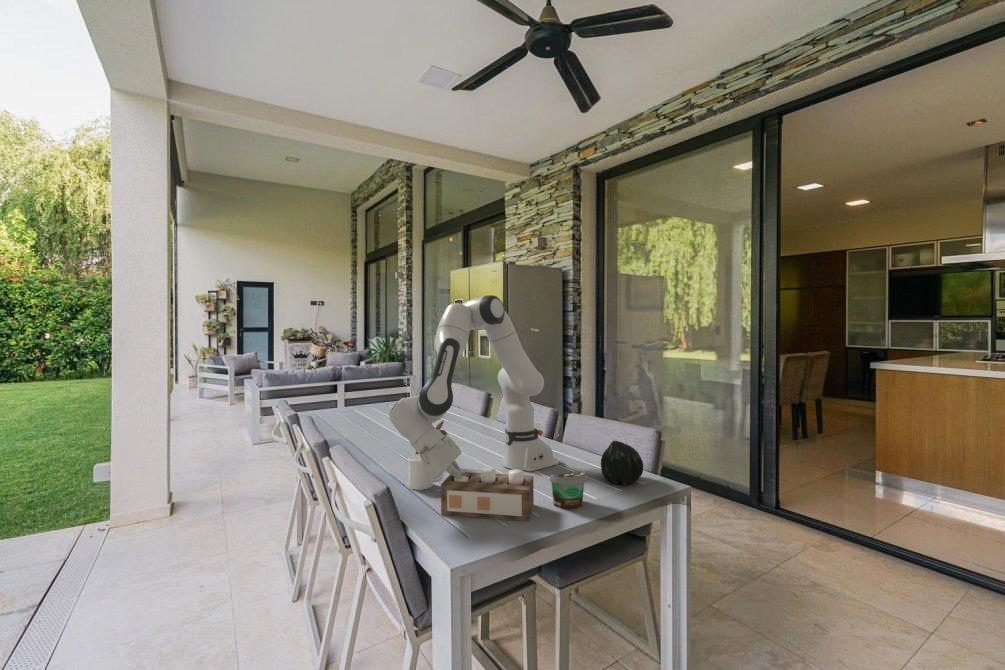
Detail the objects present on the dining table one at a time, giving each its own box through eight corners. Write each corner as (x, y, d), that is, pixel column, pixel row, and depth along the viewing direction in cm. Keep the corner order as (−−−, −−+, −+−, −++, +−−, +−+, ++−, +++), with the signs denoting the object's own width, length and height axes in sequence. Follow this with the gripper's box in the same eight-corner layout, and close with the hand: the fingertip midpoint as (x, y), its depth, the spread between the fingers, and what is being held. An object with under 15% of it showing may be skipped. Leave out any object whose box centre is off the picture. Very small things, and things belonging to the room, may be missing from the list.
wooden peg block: (441, 514, 136) (440, 484, 135) (452, 498, 148) (452, 471, 147) (528, 521, 131) (528, 490, 131) (533, 504, 143) (533, 475, 143)
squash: (658, 468, 159) (634, 431, 166) (631, 479, 150) (606, 439, 157) (633, 486, 168) (611, 450, 176) (606, 497, 159) (584, 459, 166)
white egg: (452, 496, 139) (452, 480, 139) (456, 491, 143) (456, 475, 143) (466, 497, 138) (466, 481, 138) (470, 491, 142) (469, 476, 142)
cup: (413, 481, 164) (412, 453, 163) (446, 482, 162) (445, 454, 162) (405, 490, 156) (405, 460, 155) (440, 491, 154) (439, 461, 154)
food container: (559, 513, 136) (559, 480, 135) (549, 506, 141) (549, 474, 141) (594, 506, 141) (594, 474, 140) (583, 499, 146) (583, 468, 146)
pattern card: (446, 511, 135) (446, 491, 134) (447, 510, 135) (447, 490, 135) (521, 516, 131) (521, 495, 130) (521, 515, 131) (521, 494, 131)
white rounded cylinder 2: (507, 490, 136) (507, 473, 136) (510, 485, 140) (510, 469, 140) (522, 491, 135) (522, 474, 135) (524, 486, 139) (524, 469, 139)
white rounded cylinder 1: (479, 488, 137) (479, 472, 137) (482, 483, 142) (482, 467, 141) (494, 489, 137) (494, 473, 136) (496, 484, 141) (496, 468, 141)
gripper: (424, 445, 131) (458, 481, 130) (446, 428, 151) (475, 459, 150) (410, 460, 132) (443, 495, 131) (433, 441, 152) (462, 472, 151)
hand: (460, 476), depth 140 cm, fingers closed, pressing on white egg
